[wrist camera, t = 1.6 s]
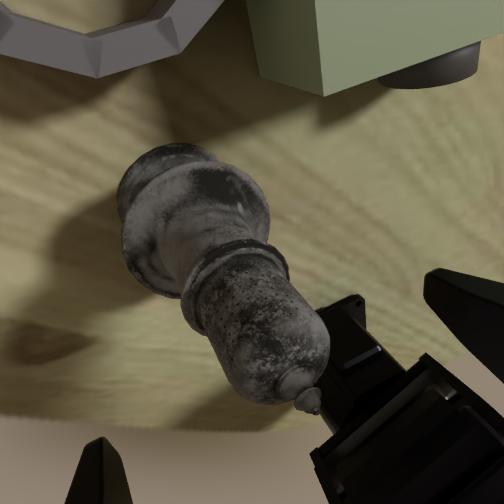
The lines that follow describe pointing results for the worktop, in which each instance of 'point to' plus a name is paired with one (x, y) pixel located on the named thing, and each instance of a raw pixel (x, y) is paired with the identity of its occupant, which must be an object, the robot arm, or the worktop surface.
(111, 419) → the worktop surface
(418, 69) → the block with end pegs
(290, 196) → the worktop surface
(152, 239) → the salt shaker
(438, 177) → the worktop surface
